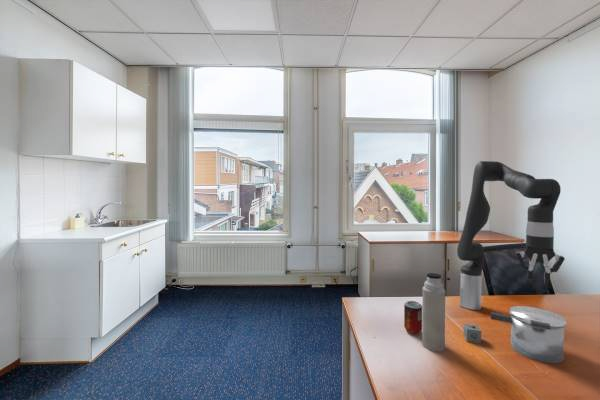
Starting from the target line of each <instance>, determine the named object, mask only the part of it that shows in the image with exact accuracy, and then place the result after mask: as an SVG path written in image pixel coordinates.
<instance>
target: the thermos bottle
mask: <svg viewBox="0 0 600 400" xmlns="http://www.w3.org/2000/svg"><path fill="white" fill-rule="evenodd" d="M426 276H427V278H426V280H425V281H424V284H423V285H424V286H422V304H421V305H422V330H421V344H422V346H423V347H424V348H426V349H427V350H430V351H434V352H442V351H444V350H445V349H446V347H445V346H446V289H445V288H444V287H445V286H444V283H442V279H441V278H442V275H441V274H440V273H439V274H438V273H434V272H429V273H427V274H426Z"/></svg>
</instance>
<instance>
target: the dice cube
mask: <svg viewBox="0 0 600 400" xmlns="http://www.w3.org/2000/svg"><path fill="white" fill-rule="evenodd" d="M462 333H463V334H462V335H463V338H464V339H465V341H466V342H468V343H469V342H470V343H476V344H482V330H481V328H480V327H479V325H478V324H471V323H463V332H462Z"/></svg>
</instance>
